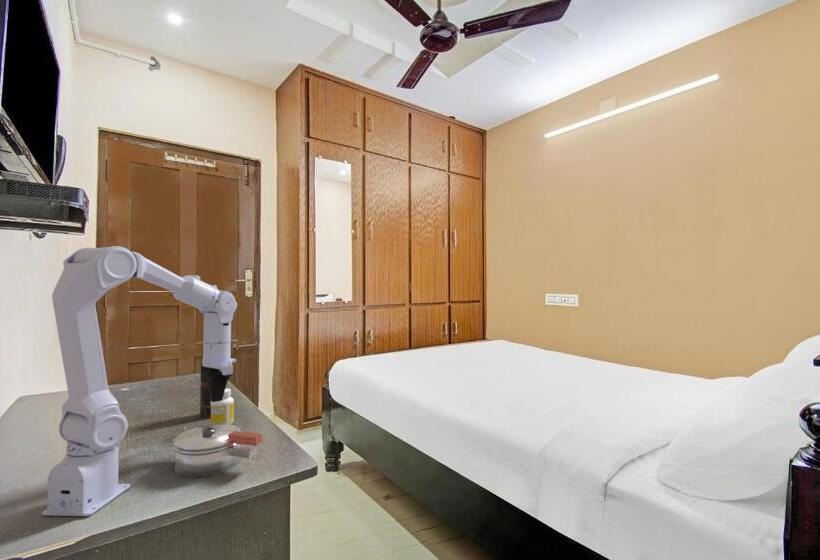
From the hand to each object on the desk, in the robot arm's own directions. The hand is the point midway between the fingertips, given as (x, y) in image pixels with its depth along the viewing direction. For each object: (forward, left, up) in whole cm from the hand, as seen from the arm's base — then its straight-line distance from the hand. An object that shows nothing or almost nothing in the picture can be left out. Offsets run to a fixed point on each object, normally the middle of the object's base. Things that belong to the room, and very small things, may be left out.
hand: (216, 400), depth 92 cm
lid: (-10, -6, -5) cm, 12 cm away
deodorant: (+21, +12, -11) cm, 26 cm away
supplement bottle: (+11, +4, -11) cm, 16 cm away
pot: (-9, -4, -10) cm, 15 cm away
